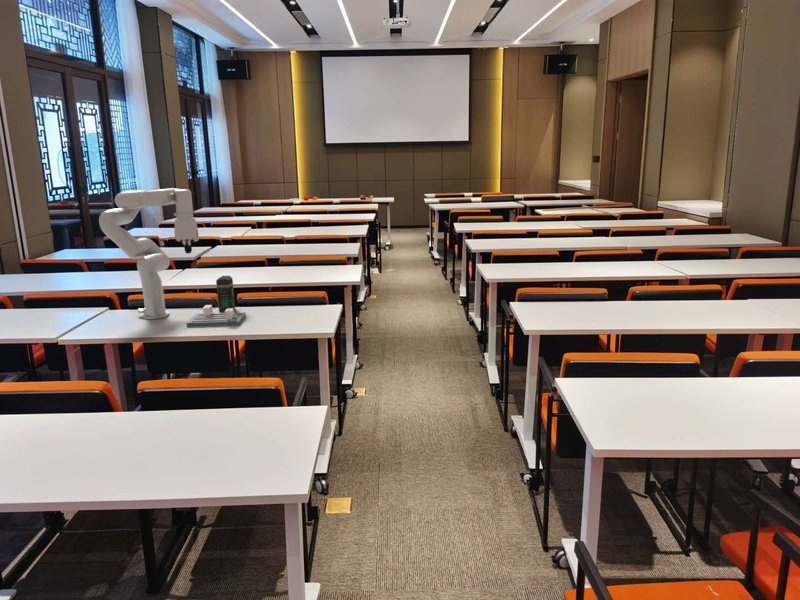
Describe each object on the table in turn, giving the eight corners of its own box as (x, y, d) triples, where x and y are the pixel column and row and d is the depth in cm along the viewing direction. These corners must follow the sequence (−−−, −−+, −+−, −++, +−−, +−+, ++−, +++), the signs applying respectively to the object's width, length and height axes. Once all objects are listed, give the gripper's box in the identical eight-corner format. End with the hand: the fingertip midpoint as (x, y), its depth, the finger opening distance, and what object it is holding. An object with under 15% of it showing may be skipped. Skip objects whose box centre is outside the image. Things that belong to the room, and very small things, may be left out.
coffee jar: (233, 313, 305) (229, 278, 300) (217, 313, 304) (214, 279, 299) (237, 308, 314) (233, 274, 309) (222, 308, 313) (218, 274, 308)
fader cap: (225, 319, 285) (224, 311, 284) (228, 316, 290) (227, 308, 288) (231, 319, 285) (230, 310, 284) (234, 316, 290) (233, 308, 288)
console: (186, 326, 284) (185, 312, 282) (196, 317, 298) (194, 304, 296) (238, 325, 284) (237, 311, 282) (245, 316, 299) (244, 303, 297)
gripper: (166, 216, 279) (170, 254, 284) (198, 216, 279) (201, 254, 284) (172, 214, 286) (175, 251, 291) (203, 214, 286) (206, 251, 291)
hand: (188, 252), depth 287 cm, fingers closed
